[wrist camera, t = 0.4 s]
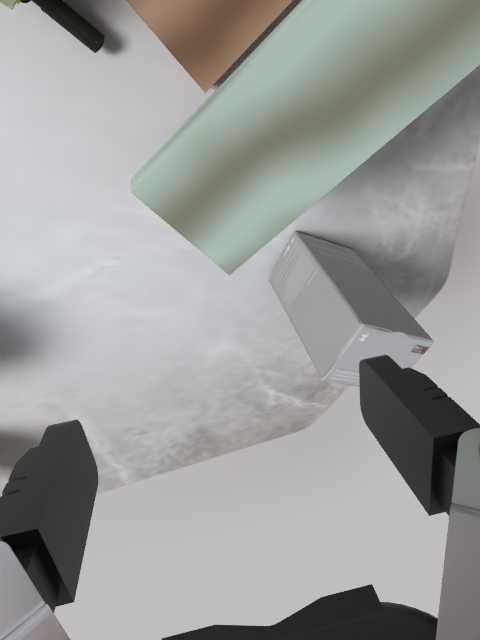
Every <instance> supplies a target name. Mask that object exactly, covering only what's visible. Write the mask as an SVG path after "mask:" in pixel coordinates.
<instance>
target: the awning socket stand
mask: <svg viewBox="0 0 480 640" xmlns="http://www.w3.org/2000/svg"><path fill="white" fill-rule="evenodd" d="M126 1H127V2H128V3H129V4H130V5H131V7H132V8H133V9H134V10H135V11H136V13H137V14H138V15H139V16H140V17H141V18H142V20H143V21H144V22H145V23H146V24H147V25H148V27H149V28H150V29H151V30H152V31H153V32H154V34H155V35H156V36H157V37H158V38H159V39H160V41H161V42H162V43H163V44H164V45H165V46H166V48H167V49H168V50H169V51H170V52H171V53H172V55H173V56H174V57H175V58H176V59H177V60H178V62H179V63H180V64H181V65H182V66H183V67H184V69H185V70H186V71H187V72H188V73H189V74H190V76H191V77H192V78H193V79H194V80H195V81H196V83H197V84H198V85H199V86H200V87H201V88H202V90H203V91H204V92H205V93H206V92H207V91H208V90H209V89H210V88H211V86H212V85H213V84H214V83H215V82H216V81H217V80H218V79H219V78H220V77H221V76H222V75H223V74H224V73H225V72H226V71H227V70H228V69H229V67H230V66H231V65H232V64H233V63H234V62H235V61H236V60H237V59H238V58H239V57H240V56H241V55H242V54H243V53H244V52H245V51H246V50H247V48H248V47H249V46H250V45H251V44H252V43H253V42H254V41H255V40H256V39H257V38H258V37H259V36H260V35H261V34H262V33H263V32H264V31H265V29H266V28H267V27H268V26H269V25H270V24H271V23H272V22H273V21H274V20H275V19H276V18H277V17H278V16H279V15H280V14H281V13H282V12H283V10H284V9H285V8H286V7H287V6H288V5H289V4H290V3H291V2H292V1H293V0H126ZM479 65H480V0H302V1H301V2H300V3H299V4H298V5H297V6H296V7H295V8H294V9H293V10H292V11H291V12H290V13H289V14H288V15H287V16H286V18H285V19H284V20H283V21H282V22H281V23H280V24H279V25H278V26H277V27H276V28H275V29H274V30H273V31H272V32H271V33H270V34H269V35H268V36H267V37H266V38H265V40H264V41H263V42H262V43H261V44H260V45H259V46H258V47H257V48H256V49H255V50H254V51H253V52H252V53H251V54H250V55H249V56H248V57H247V58H246V59H245V60H244V62H243V63H242V64H241V65H240V66H239V67H238V68H237V69H236V70H235V71H234V72H233V73H232V74H231V75H230V76H229V77H228V78H227V79H226V80H225V81H224V82H223V84H222V85H221V86H220V87H219V88H218V89H217V90H216V91H215V92H214V93H213V94H212V95H211V96H210V97H209V98H208V99H207V100H206V101H205V102H204V103H203V104H202V106H201V107H200V108H199V109H198V110H197V111H196V112H195V113H194V114H193V115H192V116H191V117H190V118H189V119H188V120H187V121H186V122H185V123H184V124H183V125H182V126H181V128H180V129H179V130H178V131H177V132H176V133H175V134H174V135H173V136H172V137H171V138H170V139H169V140H168V141H167V142H166V143H165V144H164V145H163V146H162V147H161V148H160V149H159V151H158V152H157V153H156V154H155V155H154V156H153V157H152V158H151V159H150V160H149V161H148V162H147V163H146V164H145V165H144V166H143V167H142V168H141V169H140V170H139V171H138V173H137V174H136V175H135V176H134V177H133V178H132V179H131V193H132V194H133V195H135V196H136V197H137V198H138V199H139V200H141V201H142V202H143V203H144V204H145V205H146V206H148V207H149V208H150V209H151V210H152V211H154V212H155V213H156V214H157V215H158V216H160V217H161V218H162V219H163V220H164V221H166V222H167V223H168V224H169V225H170V226H171V227H173V228H174V229H175V230H176V231H177V232H179V233H180V234H181V235H182V236H183V237H185V238H186V239H187V240H188V241H189V242H190V243H192V244H193V245H194V246H195V247H196V248H198V249H199V250H200V251H201V252H202V253H204V254H205V255H206V256H207V257H208V258H210V259H211V260H212V261H213V262H214V263H215V264H217V265H218V266H219V267H220V268H221V269H223V270H224V271H225V272H226V273H227V274H229V275H230V274H231V273H232V272H234V271H235V270H236V269H237V268H238V267H240V266H241V265H242V264H243V263H244V262H246V261H247V260H248V259H249V258H250V257H251V256H253V255H254V254H255V253H256V252H257V251H259V250H260V249H261V248H262V247H263V246H265V245H266V244H267V243H268V242H269V241H271V240H272V239H273V238H274V237H275V236H276V235H278V234H279V233H280V232H281V231H282V230H284V229H285V228H286V227H287V226H288V225H290V224H291V223H292V222H293V221H294V220H296V219H297V218H298V217H299V216H300V215H301V214H303V213H304V212H305V211H306V210H307V209H309V208H310V207H311V206H312V205H313V204H315V203H316V202H317V201H318V200H319V199H321V198H322V197H323V196H324V195H325V194H326V193H328V192H329V191H330V190H331V189H332V188H334V187H335V186H336V185H337V184H338V183H340V182H341V181H342V180H343V179H344V178H346V177H347V176H348V175H349V174H350V173H351V172H353V171H354V170H355V169H356V168H357V167H359V166H360V165H361V164H362V163H363V162H365V161H366V160H367V159H368V158H369V157H371V156H372V155H373V154H374V153H375V152H376V151H378V150H379V149H380V148H381V147H382V146H384V145H385V144H386V143H387V142H388V141H390V140H391V139H392V138H393V137H394V136H396V135H397V134H398V133H399V132H400V131H401V130H403V129H404V128H405V127H406V126H407V125H409V124H410V123H411V122H412V121H413V120H415V119H416V118H417V117H418V116H419V115H421V114H422V113H423V112H424V111H425V110H426V109H428V108H429V107H430V106H431V105H432V104H434V103H435V102H436V101H437V100H438V99H440V98H441V97H442V96H443V95H444V94H446V93H447V92H448V91H449V90H450V89H451V88H453V87H454V86H455V85H456V84H457V83H459V82H460V81H461V80H462V79H463V78H465V77H466V76H467V75H468V74H469V73H471V72H472V71H473V70H474V69H475V68H476V67H478V66H479Z"/></svg>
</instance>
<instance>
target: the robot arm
mask: <svg viewBox="0 0 480 640" xmlns="http://www.w3.org/2000/svg"><path fill="white" fill-rule="evenodd" d="M359 382H360V406H361V411H362V415H363V418H364V420H365V423H366V425H367V426H368V427H369V429H370V431H371V432H372V433H373V435H374V436H375V438H376V439H377V441H378V442H379V444H380V445H381V446H382V448H383V449H384V451H385V452H386V454H387V455H388V457H389V458H390V460H391V461H392V462H393V464H394V465H395V467H396V468H397V470H398V471H399V473H400V474H401V475H402V477H403V478H404V479H405V481H406V483H407V484H408V486H409V487H410V488H411V490H412V491H413V493H414V494H415V495H416V497H417V499H418V500H419V501H420V503H421V504H422V506H423V507H424V509H425V510H426V512H427V513H428V514H429V516H430V515H434V514H438V513H442V512H447V514H448V515H449V525H448V534H447V543H446V551H445V561H444V569H443V578H442V587H441V597H440V606H439V615H438V618H436V617H434V616H432V615H430V614H428V613H426V612H423V611H420V610H418V609H416V608H412V607H408V606H405V605H401V604H395V603H389V602H380V601H379V599H378V597H377V594H376V592H375V590H374V588H373V586H372V584H371V585H367V586H364V587H360V588H356V589H352V590H348V591H344V592H340V593H336V594H332V595H329V596H325V597H321V598H320V599H318V600H316V601H315V602H313V603H311V604H309V605H308V606H306V607H305V608H303V609H301V610H299V611H298V612H296V613H294V614H292V615H291V616H289V617H287V618H286V619H284V620H282V621H281V622H279V623H277V624H275V625H272V626H238V625H213V626H209V627H205V628H201V629H198V630H193V631H189V632H186V633H182V634H178V635H174V636H170V637H166V638H163V639H162V640H480V424H479V423H477V422H476V421H475V420H474V419H473V418H472V417H471V416H470V415H469V414H468V413H467V412H466V411H464V410H463V409H462V408H461V407H460V406H459V405H458V404H457V403H456V402H455V401H454V400H452V399H451V398H450V397H448V396H447V394H446V393H445V392H444V391H443V390H442V389H440V388H438V386H437V385H436V384H435V383H434V382H433V381H432V380H431V379H429V377H427V376H426V375H425V374H422V373H420V372H418V371H416V370H414V369H411V368H409V367H408V368H404V369H402V368H401V367H400V366H399V365H398V364H397V363H396V362H395V361H394V360H393V359H392V358H391V357H390V356H388V355H381V356H377V357H372V358H367V359H363V360H361V361H360V363H359ZM8 481H9V483H7V484H6V486H5V488H4V490H3V492H2V497H0V640H70V639H69V637H68V635H67V634H66V632H65V631H64V629H63V628H62V626H61V624H60V623H59V621H58V620H57V618H56V617H55V615H54V610H55V607H56V606H60V605H64V604H68V603H72V602H74V599H75V594H76V589H77V584H78V579H79V574H80V569H81V564H82V559H83V555H84V550H85V545H86V540H87V535H88V531H89V526H90V520H91V516H92V511H93V506H94V501H95V496H96V491H97V486H98V471H97V466H96V462H95V459H94V457H93V454H92V451H91V449H90V446H89V443H88V441H87V438H86V436H85V433H84V430H83V428H82V425H81V423H80V422H79V421H78V420H73V421H68V422H63V423H59V424H54V425H49V426H48V427H47V428H46V430H45V433H44V435H43V438H42V440H41V442H40V445H39V447H35V448H31V449H29V450H28V452H27V453H26V454H25V455H24V456H23V457H22V458H21V459H20V460H19V461H18V462H17V463H16V465H15V467H14V469H13V471H12V473H11V475H10V477H9V480H8Z"/></svg>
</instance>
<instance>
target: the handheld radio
mask: <svg viewBox="0 0 480 640" xmlns="http://www.w3.org/2000/svg"><path fill="white" fill-rule="evenodd" d="M30 1H31V0H0V2H1V3H3V4H4V5H6V6H7V7H9V8H11V9H12V10H13V8H14V6H15V4H16V3H17V4H19V2H22V3H28V2H30ZM32 1H33V2H34V3H36V4H37V5H38V6H39V7H41V10H42V11H44V12H45V13H46V14H47V15H49V16H50V17H51V18H52V19H54V20H55V21H56V22H57V23H59V24H60V25H61V26H62V27H63V28H65V29H66V30H67V31H68V32H70V33H71V34H72V35H73V36H75V37H76V38H77V39H78V40H80V41H81V42H82V43H83V44H84V45H86V46H87V47H88V48H89V49H91V50H92V51H93V52H94V53H96V52H97V51H99V50H100V48H101V47H102V45H103V43H104V35H103V34H101V33H100V32H99V31H98V30H97V29H96V28H94V27H93V26H92V25H91V24H90V23H88V22H87V21H86V20H85V19H84V18H82V17H81V16H80V15H79V14H78V13H77V12H75V11H74V10H73V9H72V8H71V7H69V6H68V5H67V4H66V3H65V2H63V1H62V0H32Z"/></svg>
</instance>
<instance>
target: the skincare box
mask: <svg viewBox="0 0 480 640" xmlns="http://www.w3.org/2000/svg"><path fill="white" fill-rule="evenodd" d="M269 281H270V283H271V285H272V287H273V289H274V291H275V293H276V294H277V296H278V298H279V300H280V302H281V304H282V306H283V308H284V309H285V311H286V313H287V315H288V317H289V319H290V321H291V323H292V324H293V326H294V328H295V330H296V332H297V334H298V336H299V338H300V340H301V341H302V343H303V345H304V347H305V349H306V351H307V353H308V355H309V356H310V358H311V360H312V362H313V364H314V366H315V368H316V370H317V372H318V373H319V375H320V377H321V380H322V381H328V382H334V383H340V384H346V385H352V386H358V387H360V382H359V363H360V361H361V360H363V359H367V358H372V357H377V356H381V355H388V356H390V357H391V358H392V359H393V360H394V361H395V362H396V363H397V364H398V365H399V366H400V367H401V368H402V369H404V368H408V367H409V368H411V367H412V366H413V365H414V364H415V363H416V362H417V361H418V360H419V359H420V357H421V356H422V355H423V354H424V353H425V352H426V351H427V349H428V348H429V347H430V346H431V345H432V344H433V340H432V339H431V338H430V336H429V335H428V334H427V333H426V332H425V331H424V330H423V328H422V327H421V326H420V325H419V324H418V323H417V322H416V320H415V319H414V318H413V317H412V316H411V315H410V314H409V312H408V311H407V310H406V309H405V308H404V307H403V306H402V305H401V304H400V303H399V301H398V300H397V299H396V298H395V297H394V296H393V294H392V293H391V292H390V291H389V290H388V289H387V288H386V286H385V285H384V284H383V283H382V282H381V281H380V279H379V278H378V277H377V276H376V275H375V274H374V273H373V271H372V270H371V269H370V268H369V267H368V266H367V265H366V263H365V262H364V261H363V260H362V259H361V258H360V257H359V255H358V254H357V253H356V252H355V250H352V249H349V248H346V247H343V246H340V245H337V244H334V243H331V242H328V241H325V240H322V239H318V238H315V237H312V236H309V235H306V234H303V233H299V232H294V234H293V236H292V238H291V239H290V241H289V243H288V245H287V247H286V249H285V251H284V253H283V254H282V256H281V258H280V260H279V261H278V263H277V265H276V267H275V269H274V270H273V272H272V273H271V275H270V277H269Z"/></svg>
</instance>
